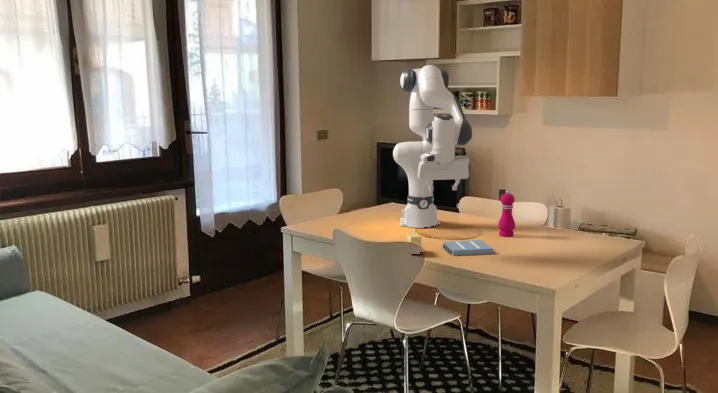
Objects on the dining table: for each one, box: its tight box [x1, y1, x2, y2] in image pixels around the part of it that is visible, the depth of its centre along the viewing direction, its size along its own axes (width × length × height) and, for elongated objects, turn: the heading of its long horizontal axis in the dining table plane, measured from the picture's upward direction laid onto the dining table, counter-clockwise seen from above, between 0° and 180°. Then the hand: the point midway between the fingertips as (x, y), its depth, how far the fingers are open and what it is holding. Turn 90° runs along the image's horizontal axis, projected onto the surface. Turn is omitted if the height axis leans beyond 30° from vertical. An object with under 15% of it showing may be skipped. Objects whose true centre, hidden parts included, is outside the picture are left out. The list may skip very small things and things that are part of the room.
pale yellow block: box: [406, 231, 422, 246], centre depth 261 cm, size 8×4×7 cm, turn 8°
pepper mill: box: [497, 189, 516, 238], centre depth 286 cm, size 7×7×20 cm
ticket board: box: [442, 239, 494, 256], centre depth 264 cm, size 14×17×2 cm
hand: (442, 190), depth 263 cm, fingers open, 8 cm apart
